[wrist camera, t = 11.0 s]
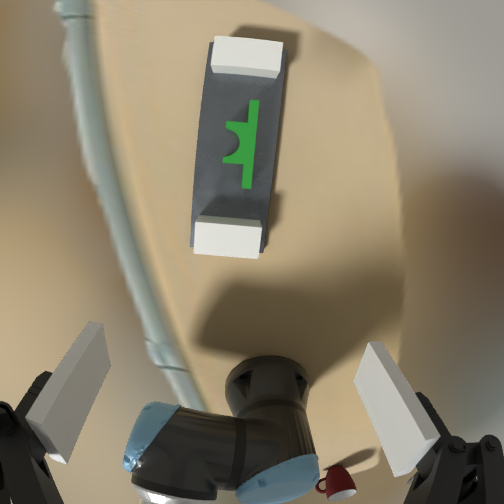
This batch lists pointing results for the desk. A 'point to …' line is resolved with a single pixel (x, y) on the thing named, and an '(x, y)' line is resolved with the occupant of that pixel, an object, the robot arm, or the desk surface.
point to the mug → (337, 484)
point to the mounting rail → (236, 146)
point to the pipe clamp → (245, 143)
